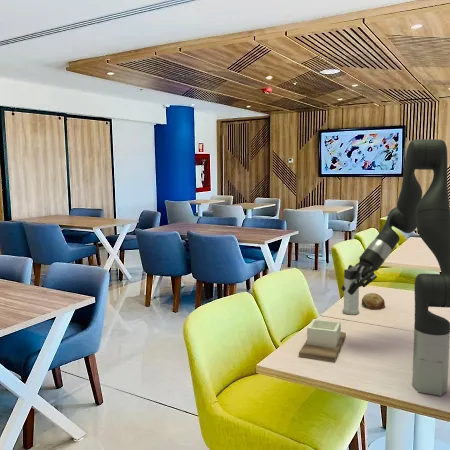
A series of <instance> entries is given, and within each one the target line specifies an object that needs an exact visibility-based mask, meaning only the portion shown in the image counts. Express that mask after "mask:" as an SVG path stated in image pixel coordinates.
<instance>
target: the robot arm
mask: <svg viewBox="0 0 450 450" xmlns="http://www.w3.org/2000/svg"><path fill="white" fill-rule="evenodd" d="M405 153H406V154H405V159H404V166H403V175H402V183H401V188H400V193H399V196H398V199H397V201H396V207H393V208H392V209H391V210H389V212H388V214H387V217H386V220H385V223H384V225H383V227H382V228H381V231H379V233H378V234H377V235H376V237H375V239H373V240H372V241H371V242H370V244H369V245H368V246H367V247H366V249H365V250H363V252H362V253H361V255H360V256H359V261H358V263H356V264H355V265H352V264H349V265H348V267H347V269H357V270H359V274H358V276H357V279H356V280H355V282H354V283H353V284H352V286H351V287H350V288H349V289H348V293H349V294H350V295H353V294H354V293H355V291H356V290H357V289H358V288H359V289H360V288H362V287H363V288H365V287H367V286H368V285H370V283H372V282H373V281H375V280H376V279H377V278H378V276H377V275H376V273H375V272H376V271H378V270H379V269H380V268H381V266H382V265H383V264H384V263H385V261H386V260H387V259H388V258H389V256H390V254H391V252H392V251H393V250H394V248H396V246H397V245H398V243H399V242H400V240H401V239H400V238H401V237H400V235H399V234H398V233H397V232H396V231H395V230H394V229H393V227H394V228H395V229H396V230H399V231H401V232H403V233H404V234H411V233H413V232H414V231H416V230H417V233H418V235H419V237H420V238H421V240H422V242H423V243H424V244H425V245H426V246H427V248H428V249H429V250H430V251H431V252H432V253H431V254H433V255H434V257H435V259H436V261H437V262H438V263H437V264H438V265H439V268H440V273H418V274H417V275H416V277H415V279H414V280H415V281H414V325H413V326H414V330H413V355H412V378H411V380H412V381H411V382H412V384H411V385H412V387H413V388H414V389H416V390H417V393H422V394H426V395H427V394H429V395H432V396H433V395H434V396H439V397H442V396H443V394H445V393H447V392H448V384H449V383H448V381H449V358H450V321H449V320H448V319H446V318H445V317H443V316H441V315H438V314H436V313H433V312H431V311H430V310H429V308H445V309H446V308H450V199H449V187H448V186H449V185H448V147H447V144H446V142H445V141H444V140H442V139H431V138H430V139H427V138H426V139H413V140H411V141H410V142H409V144H408V145H407V149H406V152H405ZM416 170H419V171H421V170H424V171H426V170H427V171H428V170H429V171H430V170H431V171H432V172H433V173H432V174H433V176H432V177H433V178H432V180H431V183H430V185H429V186H428V189H427V191H425V193H424V194H423V189H422V186H421V184H420V183H419V181H418V179H417V177H416V174H415V171H416ZM340 289H341V291H343V292H344V284H342V286H341V288H340Z"/></svg>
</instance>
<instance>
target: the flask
mask: <svg viewBox="0 0 450 450" xmlns="http://www.w3.org/2000/svg"><path fill="white" fill-rule="evenodd" d="M342 313H343V314H346V315H349V316H350V315H354V316H356V315H358V314H360V311H359V308H358V309H357V310H350V311H349V310H346V309H344V307H343V309H342Z"/></svg>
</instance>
